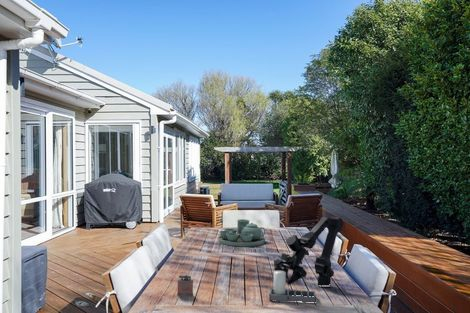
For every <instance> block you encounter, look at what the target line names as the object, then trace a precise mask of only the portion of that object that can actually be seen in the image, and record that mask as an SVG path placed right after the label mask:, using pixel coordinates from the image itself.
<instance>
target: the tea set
mask: <svg viewBox="0 0 470 313" xmlns="http://www.w3.org/2000/svg"><path fill="white" fill-rule="evenodd" d="M236 221H237V226H236V227H237V228H236V229H235V228H224V229H223V230H220V231H219V234H220V235H219V236H218V238H217V241H218V242H219V243H220V244H221V245H226V246H232V247H241V248H242V247H257V246H262V245H263V244H265V243H266V238H265V237H264V236H265V235H266V234H267V233H266V228H265V227H262V226H260V227H259V226H258V225H257V224H256V223H254V222H251V223H250V219H245V218H243V219H237V220H236ZM262 229H263V231H262Z"/></svg>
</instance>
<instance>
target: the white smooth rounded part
mask: <svg viewBox="0 0 470 313" xmlns="http://www.w3.org/2000/svg"><path fill="white" fill-rule="evenodd" d="M286 280H287V277H286V272H285V271H275V270H274V271H273V288H272V289H273V294H274V295H285V290H287V289H286V288H287V287H286V284H287V283H286V282H287V281H286Z"/></svg>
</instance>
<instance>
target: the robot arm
mask: <svg viewBox="0 0 470 313" xmlns="http://www.w3.org/2000/svg"><path fill="white" fill-rule="evenodd" d="M343 226H344V221H343V219H342V217H337V216H330V217H329V216H322V217H321V218H320V220H318V222H317V223H316V224H315V225H314V226H313V227H312V229H311V230H310V231H308V232H307V233H304V234H303V235H301V236H300V238H298V236H297V234H293V235H292V236H289V237H288V238H287V239H286V240H285V244H286V245H287V246H288V248H289V249H290V250H291V251H292V253H290V254H287V253H285V252H282V253H281V256H280V258H281V259H283V260H285V263H287V264H285V263H284V262H283V261H282V260H279V259H278V260H276V261H275V264H276V266H277V271H284V270H286V269H288V270H290V271H292V273H291V276H290V278H289V280H288V281H287V285H289V286H290V285H292V284H293V283H295V282H296V281H298V280H300V279H303V278H306V276H308V274H307V270H305V269H304V267H303V266H301V265H303V259H304V258H305V256H309V255H310V253H309V250H308V249H313V248H314V246H315V244H316V243H317V239H318V238H319V237H320V235H321V234H322V233H323V232H324V230H326V228H327V234H326V238H325V241H324V245H323V248H322V251H321V254H320V256H318V257H316V258H315V262H314V270H315V274H316V275H318V276H317V286H319V285H329V284H331V281H332V280H331V279H332V278H333V277H334V275H335V271H334V270H333V269H332V261H331V257H332V254H333V249H334V246H335V242H336V239H337V235H338V234H339V232H341V230H342V228H343ZM331 285H332V284H331Z"/></svg>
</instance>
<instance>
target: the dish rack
mask: <svg viewBox="0 0 470 313" xmlns="http://www.w3.org/2000/svg"><path fill="white" fill-rule="evenodd" d="M273 289H274V288H269V294H268V299H269V300H276V301H275V302H278V301H302V302H316V303H317V294H316V291H314V290H302V289H300V290H298V289H286V290H285V295H274V294H273ZM292 295H294V296H292ZM296 295H301V296H296ZM302 295H303V296H302ZM304 296H307V297H304ZM309 296H314V297H309ZM269 300H268V301H269Z"/></svg>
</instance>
